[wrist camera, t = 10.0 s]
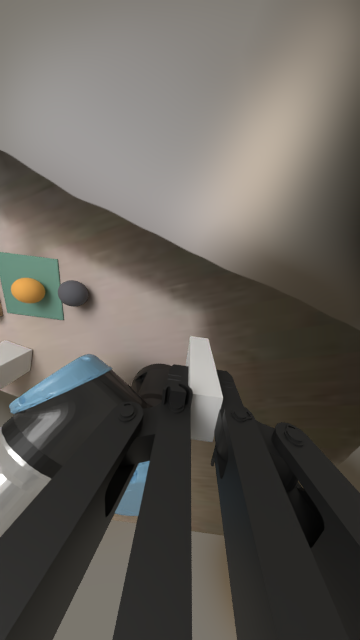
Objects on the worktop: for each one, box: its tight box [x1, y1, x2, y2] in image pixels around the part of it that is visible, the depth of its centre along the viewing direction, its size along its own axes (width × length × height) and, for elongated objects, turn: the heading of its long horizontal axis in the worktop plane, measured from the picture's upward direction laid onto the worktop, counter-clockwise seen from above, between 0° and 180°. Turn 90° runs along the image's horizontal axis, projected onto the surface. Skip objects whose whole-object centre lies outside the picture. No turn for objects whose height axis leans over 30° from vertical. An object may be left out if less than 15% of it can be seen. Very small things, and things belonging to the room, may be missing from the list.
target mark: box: [0, 252, 64, 320], centre depth 38 cm, size 14×14×1 cm
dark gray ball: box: [58, 280, 88, 306], centre depth 36 cm, size 6×6×6 cm
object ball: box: [11, 278, 45, 303], centre depth 36 cm, size 6×6×6 cm
